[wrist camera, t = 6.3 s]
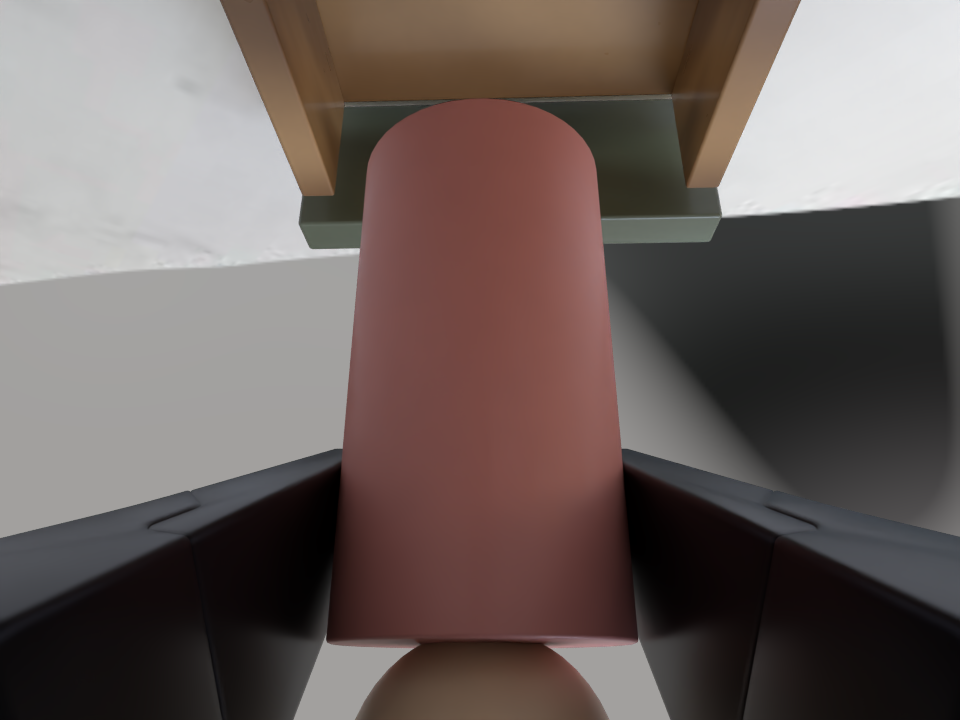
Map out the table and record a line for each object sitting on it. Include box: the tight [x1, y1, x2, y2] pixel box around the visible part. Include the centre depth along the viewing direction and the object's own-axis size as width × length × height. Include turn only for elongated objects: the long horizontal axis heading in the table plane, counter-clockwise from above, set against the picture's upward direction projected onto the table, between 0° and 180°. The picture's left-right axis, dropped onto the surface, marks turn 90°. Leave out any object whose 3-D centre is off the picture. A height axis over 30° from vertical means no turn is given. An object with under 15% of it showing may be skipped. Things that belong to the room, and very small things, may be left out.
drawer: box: [220, 0, 801, 249], centre depth 14 cm, size 13×11×4 cm
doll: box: [326, 98, 638, 720], centre depth 10 cm, size 4×4×11 cm
